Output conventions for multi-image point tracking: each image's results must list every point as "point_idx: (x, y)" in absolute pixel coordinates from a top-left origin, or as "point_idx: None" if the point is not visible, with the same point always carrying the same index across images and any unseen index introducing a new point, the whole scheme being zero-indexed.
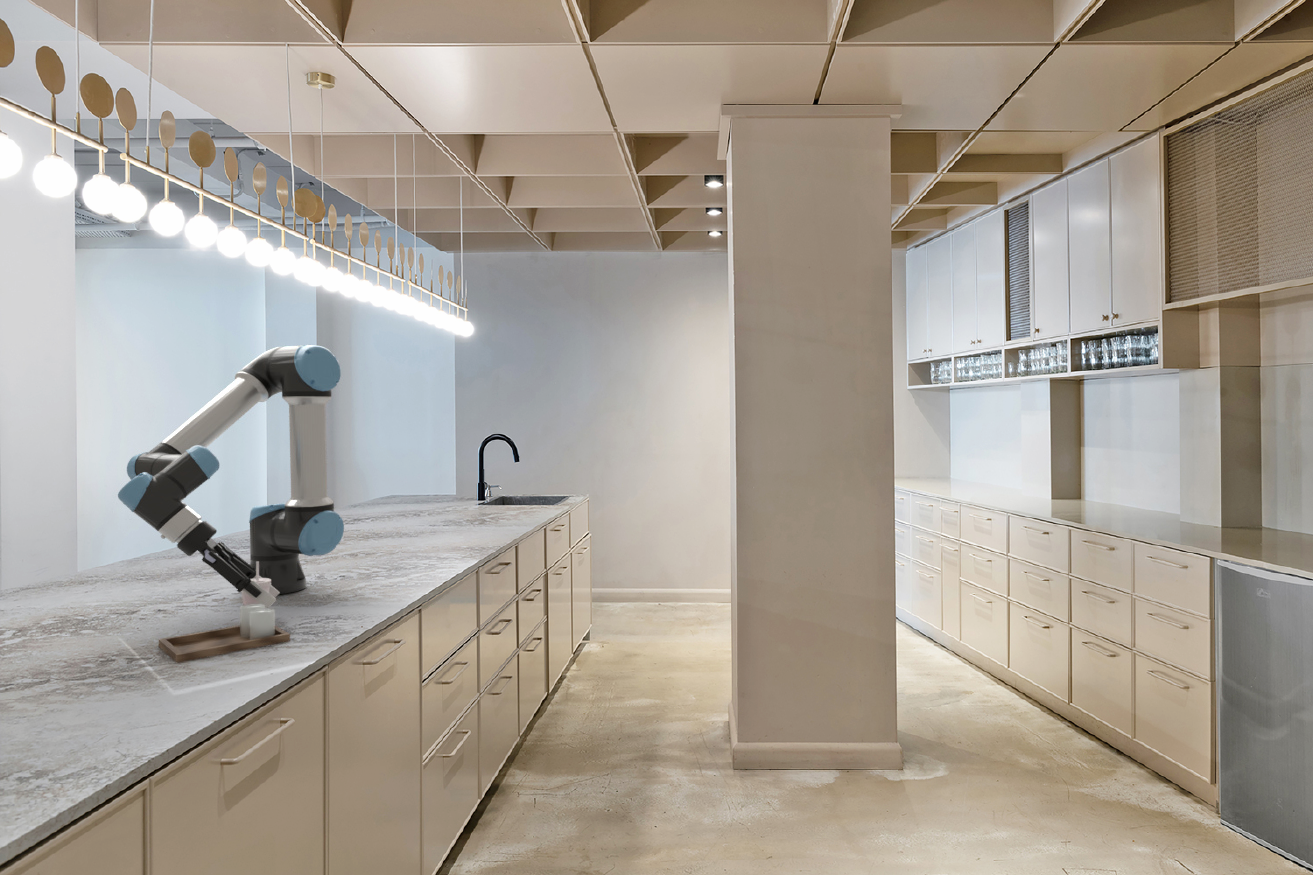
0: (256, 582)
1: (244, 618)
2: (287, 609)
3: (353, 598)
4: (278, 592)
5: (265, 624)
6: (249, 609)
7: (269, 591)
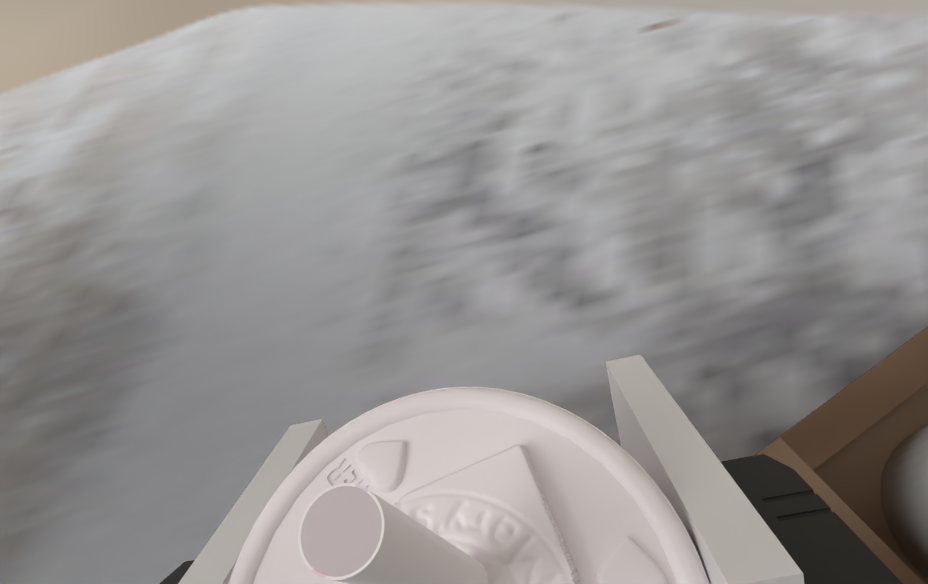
0: (579, 568)
1: None
2: (145, 500)
3: (64, 207)
4: (320, 426)
5: None
6: None
7: None
